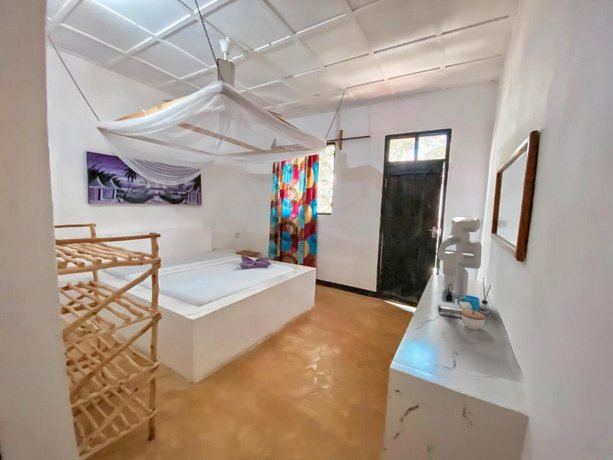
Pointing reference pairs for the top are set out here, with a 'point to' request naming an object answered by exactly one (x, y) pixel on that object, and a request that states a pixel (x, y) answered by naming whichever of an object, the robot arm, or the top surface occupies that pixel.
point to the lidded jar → (473, 319)
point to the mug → (471, 302)
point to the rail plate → (450, 314)
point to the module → (443, 297)
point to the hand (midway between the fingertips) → (448, 299)
